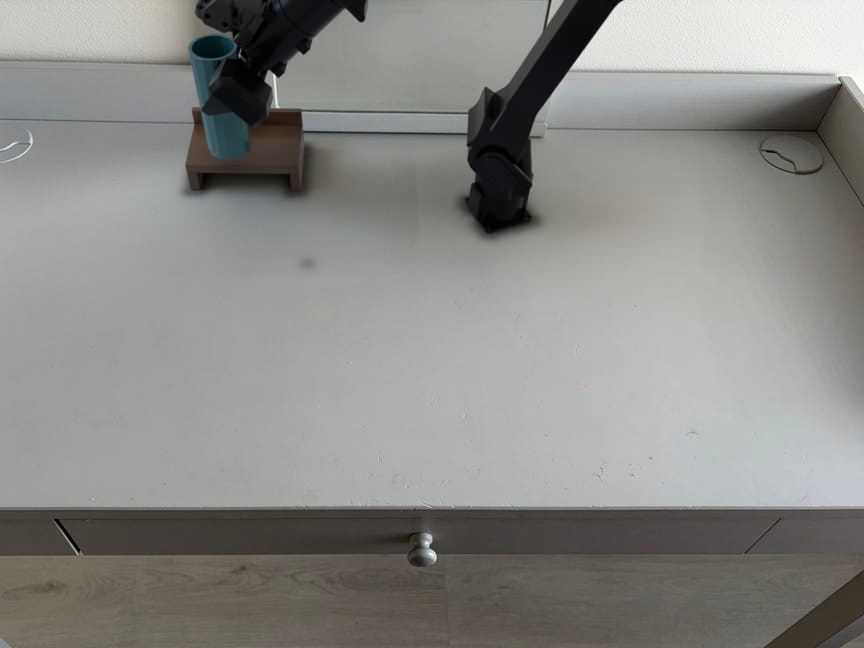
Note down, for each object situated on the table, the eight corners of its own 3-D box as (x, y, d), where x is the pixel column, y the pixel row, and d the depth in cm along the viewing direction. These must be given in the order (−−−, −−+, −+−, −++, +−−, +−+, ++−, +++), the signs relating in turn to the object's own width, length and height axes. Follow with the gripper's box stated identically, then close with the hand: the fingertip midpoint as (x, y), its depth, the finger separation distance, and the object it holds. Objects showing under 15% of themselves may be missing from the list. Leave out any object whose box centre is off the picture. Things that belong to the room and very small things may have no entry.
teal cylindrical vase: (260, 148, 94) (246, 49, 83) (223, 165, 92) (204, 66, 81) (236, 127, 96) (220, 28, 86) (200, 143, 94) (179, 44, 84)
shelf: (304, 146, 105) (301, 108, 100) (300, 191, 99) (297, 153, 95) (200, 145, 104) (192, 106, 100) (190, 190, 99) (181, 151, 94)
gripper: (255, -93, 81) (172, 3, 90) (214, 0, 69) (124, 99, 79) (333, -13, 87) (248, 69, 96) (307, 84, 75) (213, 167, 85)
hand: (210, 97), depth 89 cm, fingers closed on teal cylindrical vase, 5 cm apart
